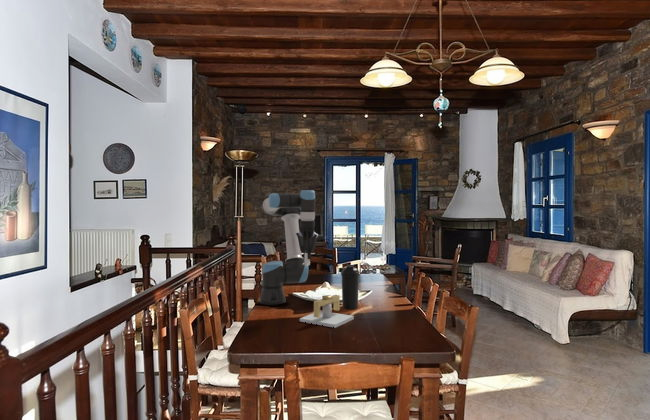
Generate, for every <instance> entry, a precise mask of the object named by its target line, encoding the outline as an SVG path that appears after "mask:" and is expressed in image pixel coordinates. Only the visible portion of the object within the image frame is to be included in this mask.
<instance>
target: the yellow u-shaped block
mask: <svg viewBox="0 0 650 420" xmlns="http://www.w3.org/2000/svg"><path fill="white" fill-rule="evenodd" d="M340 297H341V296H340V295H338V294H334V295H328V294H326V295H321V299H318V300H315V301H313V313H314V317H317V318H319V317H320V311H321V307H323V305H326V304H330V303H331V304H332V303H333V311H338V312H339V311H340V309H341V307H340V304H341V303H340V299H341V298H340Z"/></svg>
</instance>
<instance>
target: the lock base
mask: <svg viewBox="0 0 650 420" xmlns="http://www.w3.org/2000/svg"><path fill="white" fill-rule="evenodd" d="M332 306H333V305H332V303H330V304H326V305H323V306H322V310H320V317H319V318H317V317H314V312H312V313H309V314H307V315H305V316H303V317H300V318H299V322H301V323H305V322H306V324H311V323H312V325H316V324H317V326H322V325H323V326H324V327H329V328H333V327H334V329H336V328H338V327H341V326H342V325H344V324H346V323H348V322H351V321H352V320H354V319H355V317H354V315H350V314H344V313H336V312H332V310H333V308H332ZM323 326H322V327H323Z"/></svg>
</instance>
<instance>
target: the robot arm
mask: <svg viewBox="0 0 650 420" xmlns="http://www.w3.org/2000/svg"><path fill="white" fill-rule="evenodd" d="M262 210H263V211H264V213H265V214H267V215H270V216H275V217H276V216H277V217H279V216H280V217H281V220H282V221H283V222H284V232H285V233H284V234H285V245H286V258H285V260H284V262H283V261H282V260H272V261H267V262H265V263H263V265H262V268H261V269H262V271H261V274H262V277H261V279H262V281H261V282H262V284H261V287H262V289H261V292H260V296H259V298H258V300H259V304H261V305H267V306H276V305H281V304H284V303H286V301H287V300H286V296H285V291H284V288H283V287H284V285H283V284H296V283H297V284H299V283H300V284H301V283H305V282H306V281H307V279H308V276H309V266H311V259H312V253H314V252H315V250H316V246H317V241H318V239H319V236H320V234H319V233H316V231H315V228H316V227H315V225H316V221H315V219H316V191H315V190H311V189H307V190H306V189H305V190H304V189H303V190H300V193H269V195H268V197H267V198H264V199H263V201H262ZM299 220H300V221H299ZM299 222H300V224H299ZM302 253H303V256H302Z"/></svg>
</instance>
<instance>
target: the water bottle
mask: <svg viewBox="0 0 650 420" xmlns="http://www.w3.org/2000/svg"><path fill="white" fill-rule="evenodd" d="M340 276H341V298H342V299H341V301H342V305H341V306H342V308H343V309H345V310H357V309H358V308H359V286H360V285H359V284H360V283H359V282H360V281H359V280H360V271H359V269H358V268H356V267H355V264H346V267H344V268H343V269H342V270H341V271H340Z"/></svg>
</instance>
